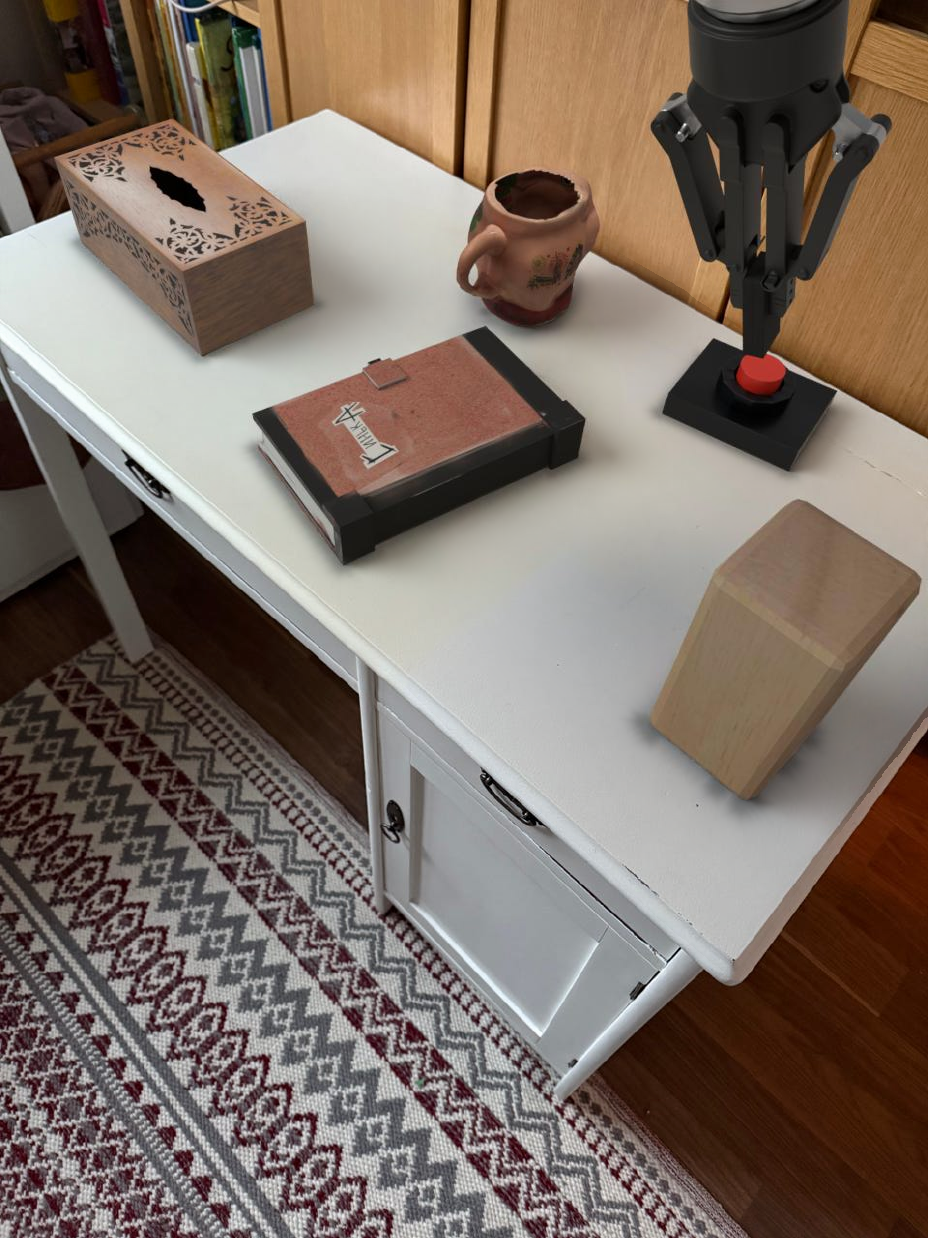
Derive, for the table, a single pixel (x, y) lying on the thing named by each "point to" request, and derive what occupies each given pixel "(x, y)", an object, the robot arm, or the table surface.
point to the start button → (760, 374)
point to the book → (415, 439)
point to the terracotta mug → (529, 243)
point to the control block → (748, 406)
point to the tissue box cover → (189, 233)
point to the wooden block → (778, 644)
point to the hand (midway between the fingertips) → (761, 342)
